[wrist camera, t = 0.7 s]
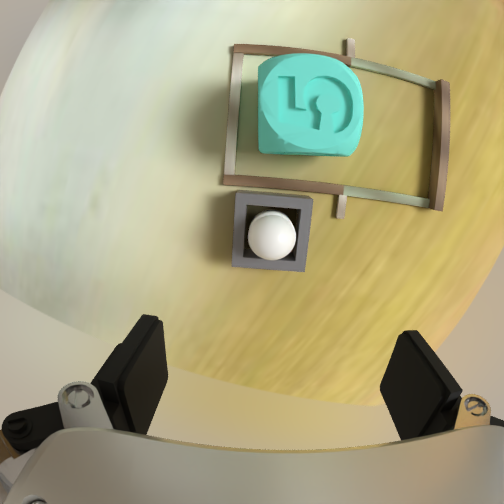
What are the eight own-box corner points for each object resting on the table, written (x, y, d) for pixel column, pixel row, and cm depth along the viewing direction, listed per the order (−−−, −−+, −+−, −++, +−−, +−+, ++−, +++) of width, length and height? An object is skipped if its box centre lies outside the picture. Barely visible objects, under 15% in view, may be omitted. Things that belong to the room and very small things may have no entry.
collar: (238, 190, 29) (235, 193, 26) (308, 195, 29) (313, 199, 26) (234, 256, 31) (231, 266, 28) (300, 261, 31) (304, 271, 28)
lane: (236, 27, 24) (235, 20, 22) (440, 67, 24) (448, 64, 22) (222, 207, 30) (220, 210, 28) (430, 229, 29) (438, 232, 28)
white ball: (250, 207, 28) (248, 215, 23) (295, 211, 27) (301, 220, 23) (247, 250, 29) (245, 265, 25) (290, 253, 29) (295, 269, 24)
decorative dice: (259, 78, 26) (257, 50, 18) (337, 83, 25) (361, 59, 18) (259, 154, 28) (258, 150, 20) (338, 157, 28) (364, 155, 20)
